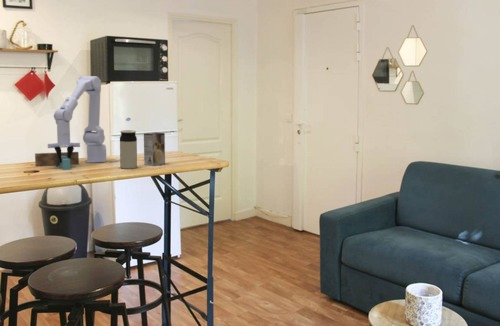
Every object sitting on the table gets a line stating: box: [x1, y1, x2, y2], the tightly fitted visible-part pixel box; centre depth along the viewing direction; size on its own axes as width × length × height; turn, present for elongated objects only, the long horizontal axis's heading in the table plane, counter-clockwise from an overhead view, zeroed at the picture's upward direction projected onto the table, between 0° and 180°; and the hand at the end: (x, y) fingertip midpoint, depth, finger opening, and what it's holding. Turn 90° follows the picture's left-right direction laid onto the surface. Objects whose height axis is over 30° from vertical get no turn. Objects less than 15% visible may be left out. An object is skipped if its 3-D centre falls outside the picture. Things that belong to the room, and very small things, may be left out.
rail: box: [58, 156, 71, 171], centre depth 248 cm, size 3×15×5 cm, turn 28°
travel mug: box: [119, 129, 138, 170], centre depth 250 cm, size 8×8×18 cm
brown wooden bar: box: [34, 151, 80, 168], centre depth 253 cm, size 20×6×6 cm, turn 118°
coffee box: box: [143, 132, 166, 167], centre depth 262 cm, size 9×6×16 cm
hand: (64, 162), depth 248 cm, fingers open, 3 cm apart
